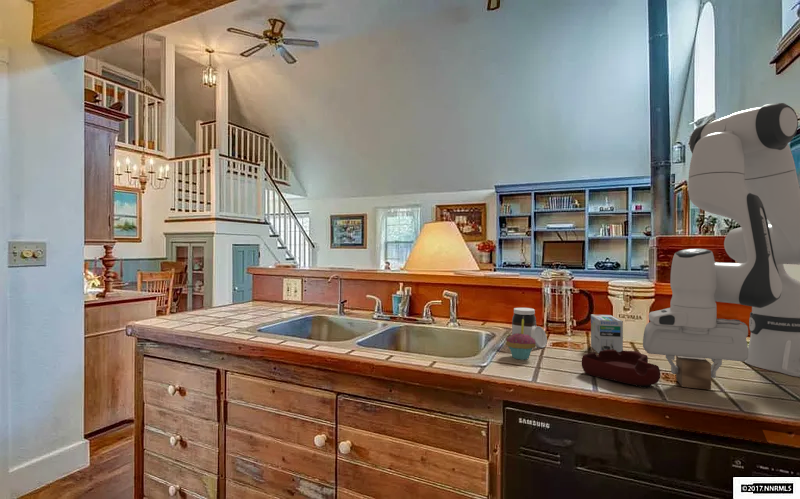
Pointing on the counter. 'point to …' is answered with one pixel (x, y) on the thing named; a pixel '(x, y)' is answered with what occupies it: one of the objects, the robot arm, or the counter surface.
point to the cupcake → (520, 344)
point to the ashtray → (622, 367)
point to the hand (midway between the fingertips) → (692, 375)
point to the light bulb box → (606, 333)
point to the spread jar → (528, 325)
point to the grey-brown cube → (694, 372)
